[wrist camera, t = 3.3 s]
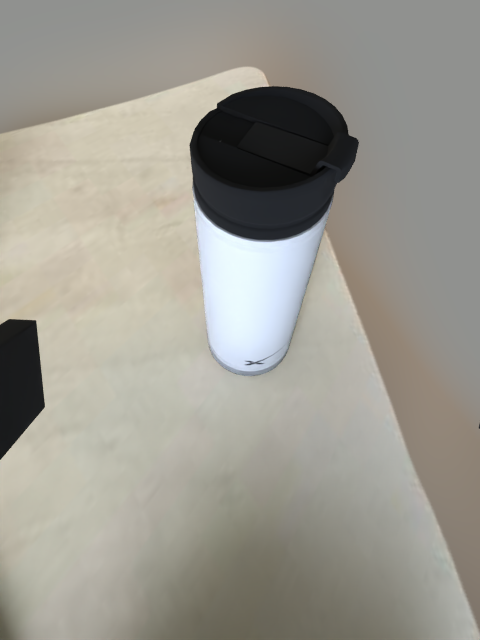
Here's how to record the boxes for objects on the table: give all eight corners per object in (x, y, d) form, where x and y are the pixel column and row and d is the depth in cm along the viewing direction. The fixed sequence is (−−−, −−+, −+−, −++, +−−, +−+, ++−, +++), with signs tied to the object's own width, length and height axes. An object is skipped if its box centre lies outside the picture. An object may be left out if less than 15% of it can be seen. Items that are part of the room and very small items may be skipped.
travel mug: (270, 393, 33) (319, 214, 15) (192, 352, 34) (153, 143, 16) (306, 326, 36) (385, 104, 18) (232, 290, 37) (236, 49, 19)
